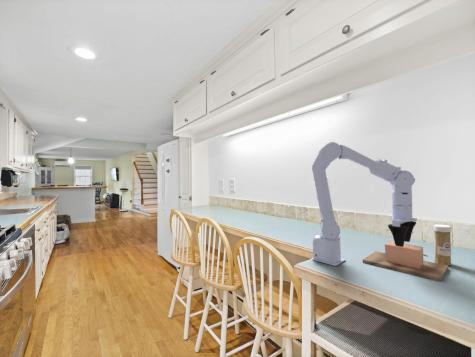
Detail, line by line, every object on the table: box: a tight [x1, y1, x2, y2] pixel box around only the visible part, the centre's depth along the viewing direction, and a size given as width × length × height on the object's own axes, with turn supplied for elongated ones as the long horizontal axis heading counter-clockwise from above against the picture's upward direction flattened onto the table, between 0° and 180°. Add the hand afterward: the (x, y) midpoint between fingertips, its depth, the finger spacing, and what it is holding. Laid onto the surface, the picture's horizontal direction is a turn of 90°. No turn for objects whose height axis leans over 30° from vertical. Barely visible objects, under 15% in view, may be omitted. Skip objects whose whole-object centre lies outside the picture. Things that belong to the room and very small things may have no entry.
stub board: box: [362, 251, 449, 282], centre depth 83 cm, size 22×13×4 cm, turn 41°
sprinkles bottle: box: [433, 224, 452, 267], centre depth 84 cm, size 5×5×14 cm
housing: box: [384, 240, 424, 269], centre depth 83 cm, size 10×5×6 cm, turn 41°
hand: (402, 243), depth 83 cm, fingers open, 7 cm apart
